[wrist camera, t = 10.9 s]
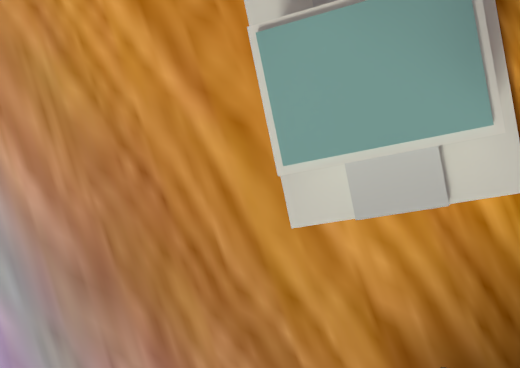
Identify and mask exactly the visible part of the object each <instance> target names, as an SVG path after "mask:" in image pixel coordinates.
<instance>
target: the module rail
mask: <svg viewBox="0 0 520 368" xmlns="http://www.w3.org/2000/svg"><path fill="white" fill-rule="evenodd" d="M244 2H245V7H246V12H247V17H248V22H249V27H247V30H248V34H249V39H250V44H251V49H252V54H253V59H254V63H255V68H256V73H257V78H258V83H259V87H260V92H261V97H262V102H263V107H264V111H265V116H266V121H267V126H268V131H269V136H270V140H271V145H272V150H273V155H274V160H275V164H276V169H277V174H278V176H281V181H282V185H283V190H284V195H285V200H286V205H287V210H288V214H289V219H290V224H291V228H297V227H304V226H310V225H317V224H323V223H330V222H336V221H343V220H349V219H356V220H361V219H367V218H374V217H380V216H387V215H393V214H400V213H406V212H413V211H419V210H426V209H432V208H439V207H445V206H449V204H453V203H459V202H466V201H472V200H479V199H485V198H491V197H498V196H504V195H511V194H517V193H520V141H519V135H518V129H517V123H516V118H515V112H514V106H513V100H512V94H511V89H510V83H509V77H508V71H507V66H506V60H505V54H504V48H503V42H502V37H501V31H500V25H499V19H498V14H497V8H496V2H495V0H244Z"/></svg>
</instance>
